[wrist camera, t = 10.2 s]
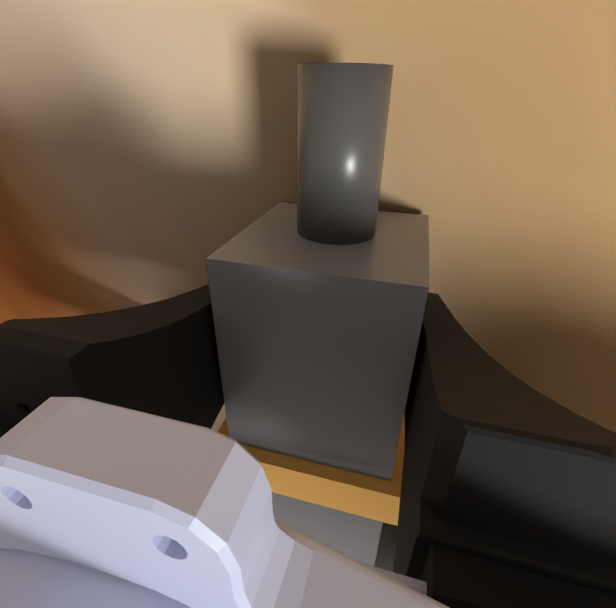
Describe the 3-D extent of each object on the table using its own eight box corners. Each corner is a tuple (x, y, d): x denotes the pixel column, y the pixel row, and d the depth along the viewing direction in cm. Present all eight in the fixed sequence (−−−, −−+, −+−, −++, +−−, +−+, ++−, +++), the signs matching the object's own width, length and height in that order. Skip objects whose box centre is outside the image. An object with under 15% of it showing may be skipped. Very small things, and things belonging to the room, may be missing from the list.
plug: (475, 70, 9) (520, 53, 5) (396, 464, 16) (385, 600, 12) (259, 69, 10) (137, 54, 6) (274, 436, 18) (224, 549, 13)
